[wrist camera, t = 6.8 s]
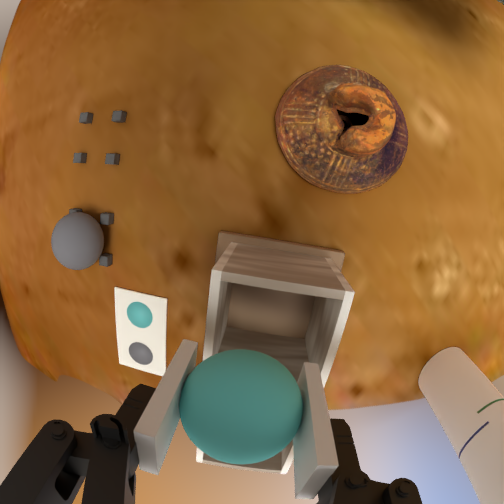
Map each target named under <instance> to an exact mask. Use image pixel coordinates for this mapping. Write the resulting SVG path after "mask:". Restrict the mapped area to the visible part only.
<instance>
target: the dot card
mask: <svg viewBox="0 0 504 504" xmlns="http://www.w3.org/2000/svg"><path fill="white" fill-rule="evenodd" d="M167 299H168V298H163V297H159V296H154V295H150V294H145V293H141V292H137V291H132V290H128V289H124V288H120V287H116V286H115V314H116V331H117V344H118V354H119V364H123V365H126V366H129V367H132V368H135V369H139V370H142V371H146V372H149V373H153V374H156V375H160V376H163V375H164V373H165V372H166V328H167Z"/></svg>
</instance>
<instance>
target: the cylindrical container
mask: <svg viewBox="0 0 504 504" xmlns="http://www.w3.org/2000/svg"><path fill="white" fill-rule="evenodd" d="M418 384H419V388H420V390H421V391H422V393H423V395H424V396H425V398H426V400H427V401H428V403H429V405H430V406H431V408H432V410H433V411H434V413H435V415H436V417H437V419H438V420H439V422H440V424H441V426H442V428H443V429H444V431H445V433H446V435H447V436H448V439H449V440H450V442H451V444H452V446H453V448H454V450H455V452H456V453H457V456H458V458H459V459H460V461H461V463H462V465H463V467H464V469H465V471H466V473H467V475H468V477H469V479H470V482H471V484H472V486H473V488H474V490H475V492H476V494H477V497H478V499H479V501H480V503H481V504H504V397H503V396H502V395H501V394H500V392H499V391H498V390H497V389H496V388H495V386H494V385H493V384H492V383H491V382H490V381H489V379H488V378H487V377H486V376H485V375H484V374H483V373H482V372H481V370H480V369H479V368H478V367H477V366H476V365H475V364H474V363H473V362H472V360H471V359H470V358H469V357H468V356H467V355H466V354H465V353H464V352H463V351H462V350H461V349H460V348H458V347H449V348H446V349H444V350H442V351H440V352H438V353H437V354H435V355H434V356H433V357H432V358H431V359H430V360H429V361H428V362H427V363H426V365H425V366H424V367H423V369H422V371H421V373H420V376H419V380H418Z"/></svg>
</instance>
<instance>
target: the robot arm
mask: <svg viewBox="0 0 504 504" xmlns="http://www.w3.org/2000/svg"><path fill="white" fill-rule="evenodd" d="M497 1H499V2H501V3H502V4H503V5H504V0H497ZM197 346H198V342H194V341H190V340H185V339H183V341H182V343H181V344H180V346H179V348H178V350H177V352H176V353H175V355H174V357H173V359H172V361H171V362H170V364H169V366H168V368H167V370H166V372H165V373H164V375H163V377H162V379H161V381H160V383H159V384H158V386H157V388H153V387H150V386H146V385H143V384H139V385H138V386H136V387H135V388H133V389H132V390H131V392H130V393H129V395H128V396H127V398H126V399H125V401H124V402H123V404H122V406H121V407H120V409H119V410H118V412H117V413H116V415H112V414H102V415H99V416H96V417H95V418H94V419H93V420H92V421H91V423H90V425H91V429H92V433H85V432H79V431H74V430H73V428H72V426H71V425H70V424H69V423H67V422H66V421H62V420H52V421H49V422H47V423H46V424H45V425H44V426H43V428H42V429H41V430H40V432H39V433H38V434H37V435H36V437H35V438H34V440H33V441H32V442H31V443H30V445H29V446H28V447H27V449H26V450H25V452H24V453H23V454H22V456H21V457H20V458H19V460H18V461H17V463H16V464H15V465H14V467H13V468H12V470H11V471H10V472H9V474H8V475H7V477H6V478H5V480H4V481H3V482H2V484H1V485H0V504H72V503H73V501H74V499H75V497H76V495H77V493H78V491H79V489H80V487H81V485H82V483H83V481H84V479H85V477H86V479H85V485H84V491H83V498H82V504H135V488H136V487H135V486H136V475H135V471H136V469H137V466H138V464H139V467H140V470H143V471H146V472H149V473H152V474H156V475H158V474H159V471H160V469H161V466H162V463H163V461H164V458H165V455H166V453H167V450H168V448H169V445H170V443H171V440H172V437H173V435H174V432H175V430H176V427H177V424H178V422H179V419H180V412H179V402H180V396H181V392H182V388H183V385H184V383H185V381H186V379H187V378H188V376H189V374H190V373H191V372H192V371H193V370H194V369H195V365H196V356H197ZM297 384H298V386H299V388H300V392H301V395H302V401H303V414H302V420H301V423H300V426H299V429H298V431H297V433H296V435H295V436H294V438H293V452H294V476H295V498H296V499H314V498H315V496H316V495H317V494H318V498H319V501H318V503H317V504H422V501H421V498H420V495H419V492H418V489H417V486H416V485H415V483H414V482H412V481H411V480H409V479H406V478H399V479H395V480H394V481H393V482H392V483H391V484H387V483H381V482H376V481H373V480H370V479H369V477H368V475H367V474H365V473H364V472H362V471H361V469H360V466H359V461H358V457H357V453H356V449H355V446H354V444H353V443H354V441H353V438H352V434H351V430H350V427H349V425H348V424H347V423H346V422H345V420H344V419H330V417H329V413H328V407H327V402H326V397H325V393H324V388H323V383H322V379H321V374H320V369H319V365H318V364H316V363H308V362H304V364H303V367H302V370H301V373H300V376H299V378H298V381H297Z"/></svg>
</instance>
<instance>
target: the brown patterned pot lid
mask: <svg viewBox="0 0 504 504" xmlns="http://www.w3.org/2000/svg"><path fill="white" fill-rule="evenodd" d="M334 71H335V72H334ZM322 73H323V74H322ZM333 93H334V94H333ZM335 93H336V94H335ZM362 97H363V98H362ZM304 106H305V107H304ZM378 107H379V108H378ZM336 108H337V109H338V110H342V111H344V112H347V113H348V112H349V113H352V112H357V113H361V114H364V115H368V116H369V120H368V122H367V123H366V124H365V125H361V126H352V123H351V121H350V119H349V118H348V117H346V116H344V115H339V114H338V112H337V109H336ZM303 116H304V117H303ZM336 119H337V120H336ZM275 120H276V132H277V139H278V143H279V145H280V147H281V150H282V152H283V154H284V156H285V157H286V160H287V162H288V163H289V164H290V166H291V167H292V168H293V169H294V170H295V171H296V172H297V173H298V174H299V175H300V176H301V177H302V178H303V179H305V180H306V181H308V182H310V183H311V184H313V185H315V186H317V187H320V188H323V189H326V190H329V191H333V192H337V193H346V194H355V193H361V192H366V191H370V190H372V189H373V188H377V187H379V186H381V185H382V184H384V183H385V182H386V181H388V180H389V179H390V178H391V177H392V176H393V175H394V174H395V173H396V172H397V170H398V169H399V168H400V166H401V164H402V161H403V159H404V157H405V154H406V151H407V146H408V130H407V126H406V121H405V117H404V114H403V112H402V110H401V108H400V106H399V105H398V103H397V101H396V99H395V98H394V96H393V95H392V94H391V93H390V91H389V90H388V89H387V88H386V87H385V86H384V85H383V84H382V83H381V82H380V81H379V80H377V79H376V78H375V77H373V76H372V75H370V74H368V73H366V72H365V71H362V70H359V69H356V68H353V67H349V66H342V65H329V66H322V67H319V68H317V69H315V70H313V71H311V72H308V73H305V74H304V75H302V76H301V77H299V78H298V79H297V80H296V81H295V82H294V83H293V84H292V85H291V86H290V87H289V88H288V89H287V90H286V92H285V93H284V95H283V96H282V98H281V100H280V104H279V106H278V108H277V111H276V115H275ZM342 120H345V121H346V122H347V124H348V128H345V130H344V131H345V132H342V130H343V128H344V123H343V121H342ZM306 122H307V123H306ZM282 123H283V124H282ZM381 124H382V125H381ZM338 125H339V126H338ZM293 127H294V128H293ZM365 127H366V128H365ZM360 129H361V130H360ZM358 130H359V131H358ZM341 132H342V133H341ZM314 139H315V140H314ZM344 140H345V141H344ZM329 143H330V144H329ZM305 144H306V145H305ZM299 147H300V148H299ZM364 147H365V148H364ZM331 152H332V153H331ZM296 163H297V164H296ZM340 174H341V175H340ZM330 175H331V176H330ZM365 187H366V188H365Z"/></svg>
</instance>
